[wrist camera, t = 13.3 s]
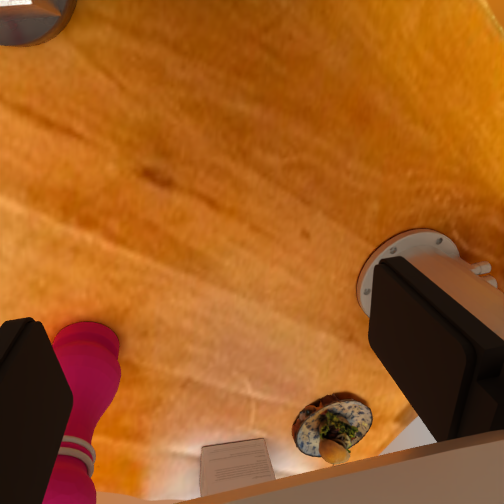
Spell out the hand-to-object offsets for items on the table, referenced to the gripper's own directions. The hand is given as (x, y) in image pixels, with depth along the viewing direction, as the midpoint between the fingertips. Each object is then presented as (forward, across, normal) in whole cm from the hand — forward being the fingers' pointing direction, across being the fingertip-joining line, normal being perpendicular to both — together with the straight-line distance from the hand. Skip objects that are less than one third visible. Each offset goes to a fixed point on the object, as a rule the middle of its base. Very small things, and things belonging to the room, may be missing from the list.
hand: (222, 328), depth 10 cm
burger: (+26, -14, +40) cm, 50 cm away
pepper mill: (+24, +14, +18) cm, 32 cm away
